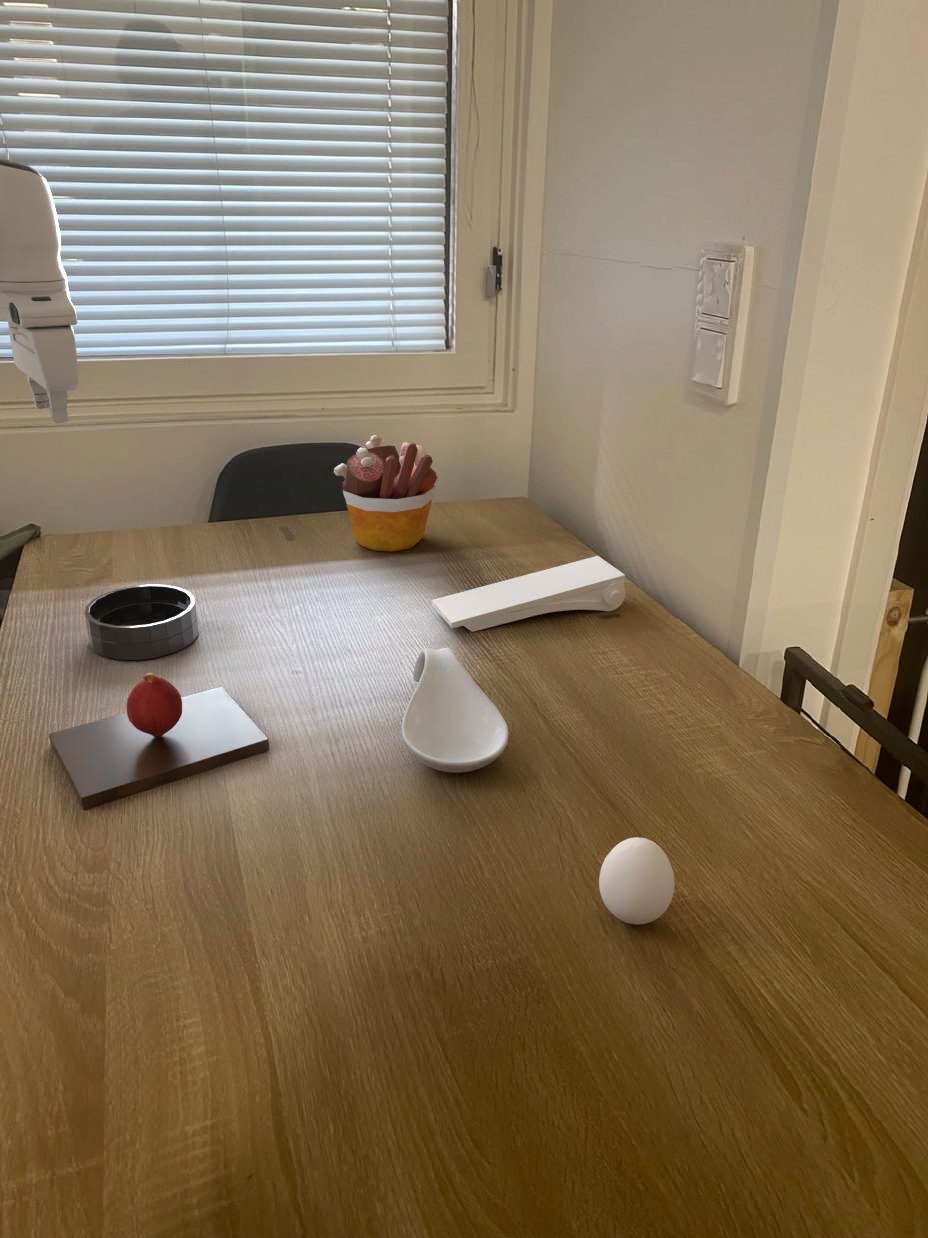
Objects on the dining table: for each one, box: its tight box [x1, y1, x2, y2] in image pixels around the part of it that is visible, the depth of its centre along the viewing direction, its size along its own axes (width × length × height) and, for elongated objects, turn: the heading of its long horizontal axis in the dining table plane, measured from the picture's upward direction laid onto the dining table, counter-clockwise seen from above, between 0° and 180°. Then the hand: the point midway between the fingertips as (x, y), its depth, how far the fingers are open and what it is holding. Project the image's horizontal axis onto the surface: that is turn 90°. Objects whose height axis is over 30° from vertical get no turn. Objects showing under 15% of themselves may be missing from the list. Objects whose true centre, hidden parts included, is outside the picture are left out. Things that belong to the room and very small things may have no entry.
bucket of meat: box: [333, 434, 438, 552], centre depth 158 cm, size 20×16×20 cm
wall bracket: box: [431, 555, 627, 633], centre depth 137 cm, size 10×7×28 cm
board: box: [48, 686, 270, 811], centre depth 101 cm, size 20×14×2 cm
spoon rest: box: [400, 647, 510, 774], centre depth 105 cm, size 24×12×7 cm, turn 11°
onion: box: [126, 672, 182, 737], centre depth 99 cm, size 6×6×8 cm
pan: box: [84, 584, 199, 661], centre depth 125 cm, size 14×14×5 cm
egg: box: [598, 836, 675, 926], centre depth 78 cm, size 6×6×8 cm
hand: (51, 414), depth 120 cm, fingers open, 8 cm apart
